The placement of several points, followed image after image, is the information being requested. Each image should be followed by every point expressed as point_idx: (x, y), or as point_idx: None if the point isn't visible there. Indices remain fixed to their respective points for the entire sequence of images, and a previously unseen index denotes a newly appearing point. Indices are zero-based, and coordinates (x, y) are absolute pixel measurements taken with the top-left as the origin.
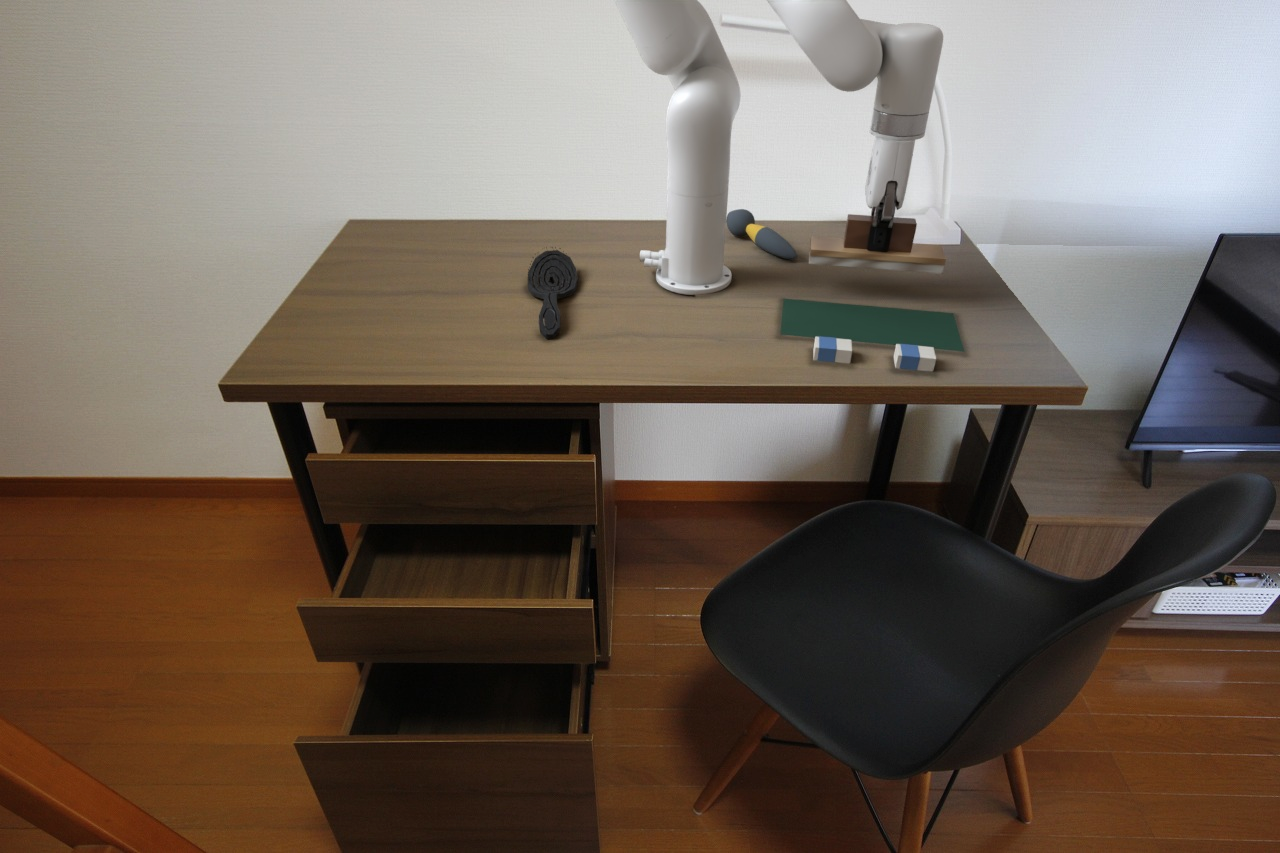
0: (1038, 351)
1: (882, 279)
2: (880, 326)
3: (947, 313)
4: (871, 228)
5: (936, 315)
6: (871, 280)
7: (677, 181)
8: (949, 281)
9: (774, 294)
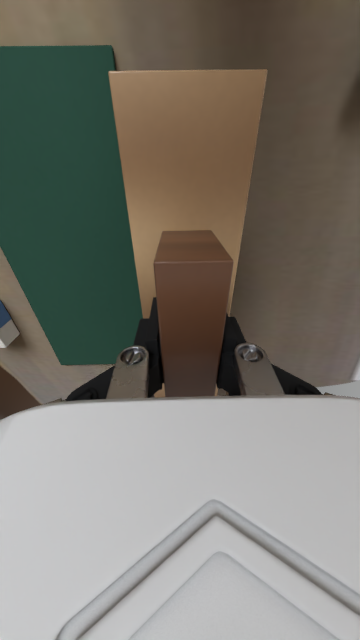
0: None
1: (251, 292)
2: (76, 284)
3: None
4: (147, 336)
5: None
6: (247, 276)
7: None
8: None
9: (146, 7)
